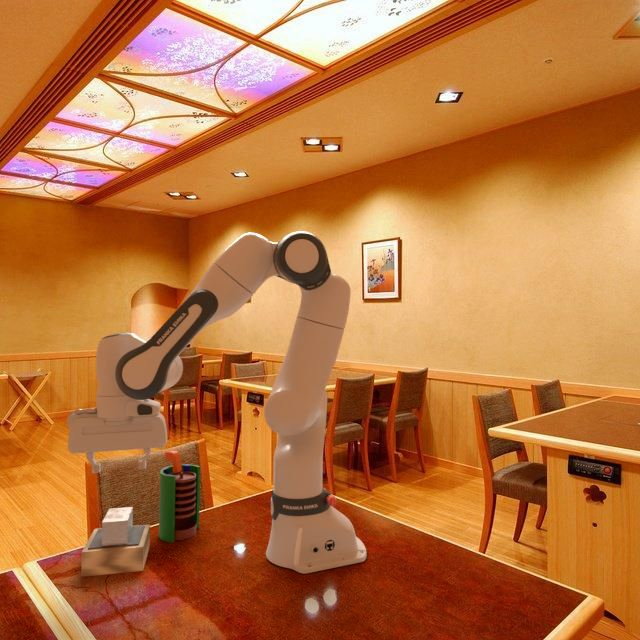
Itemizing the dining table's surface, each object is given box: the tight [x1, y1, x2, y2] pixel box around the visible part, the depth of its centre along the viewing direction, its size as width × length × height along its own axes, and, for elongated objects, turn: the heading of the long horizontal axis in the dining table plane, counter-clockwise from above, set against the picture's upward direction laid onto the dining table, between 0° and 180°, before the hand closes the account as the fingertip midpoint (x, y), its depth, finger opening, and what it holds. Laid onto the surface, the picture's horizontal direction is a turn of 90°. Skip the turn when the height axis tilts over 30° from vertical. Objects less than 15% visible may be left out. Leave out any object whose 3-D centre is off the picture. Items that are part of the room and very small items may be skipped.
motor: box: [158, 450, 201, 543], centre depth 125 cm, size 10×9×20 cm
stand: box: [80, 524, 151, 578], centre depth 111 cm, size 12×12×5 cm
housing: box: [101, 506, 134, 546], centre depth 111 cm, size 9×5×5 cm, turn 12°
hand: (119, 470), depth 111 cm, fingers open, 8 cm apart
